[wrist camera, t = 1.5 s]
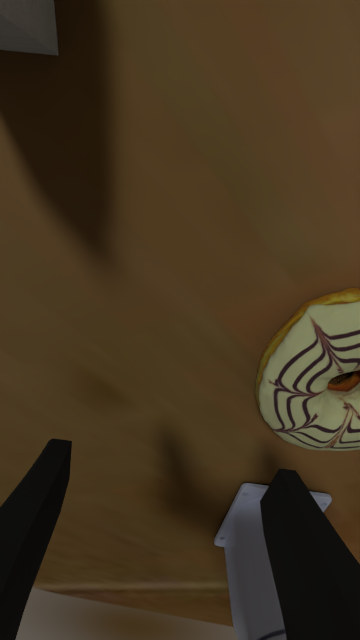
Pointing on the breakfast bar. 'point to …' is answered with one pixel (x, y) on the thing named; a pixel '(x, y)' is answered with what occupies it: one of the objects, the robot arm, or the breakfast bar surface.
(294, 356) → the decorated donut
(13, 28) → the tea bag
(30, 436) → the breakfast bar surface
